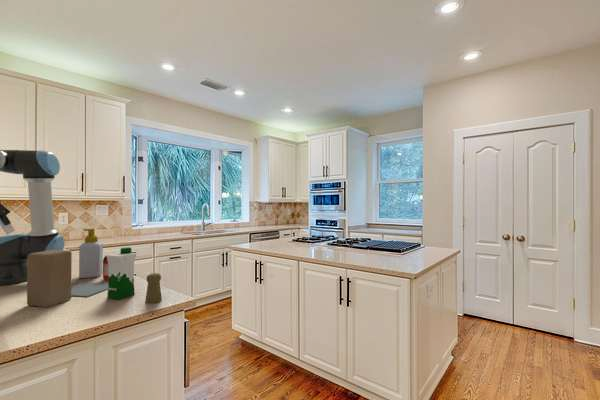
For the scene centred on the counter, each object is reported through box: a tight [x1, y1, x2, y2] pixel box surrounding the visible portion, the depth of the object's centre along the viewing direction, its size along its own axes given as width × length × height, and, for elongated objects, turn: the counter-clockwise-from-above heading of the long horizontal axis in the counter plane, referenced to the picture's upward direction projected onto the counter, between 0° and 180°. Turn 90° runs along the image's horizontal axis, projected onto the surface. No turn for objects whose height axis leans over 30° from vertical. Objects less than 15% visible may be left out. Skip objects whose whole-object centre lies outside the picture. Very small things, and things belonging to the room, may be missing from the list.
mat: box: [71, 281, 108, 298], centre depth 132 cm, size 18×18×1 cm
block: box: [26, 249, 73, 308], centre depth 115 cm, size 10×10×20 cm
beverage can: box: [102, 254, 108, 281], centre depth 150 cm, size 6×6×12 cm
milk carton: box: [106, 247, 137, 301], centre depth 123 cm, size 9×9×20 cm
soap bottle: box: [78, 228, 104, 279], centre depth 155 cm, size 9×9×25 cm
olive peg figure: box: [144, 272, 163, 305], centre depth 117 cm, size 6×6×11 cm
